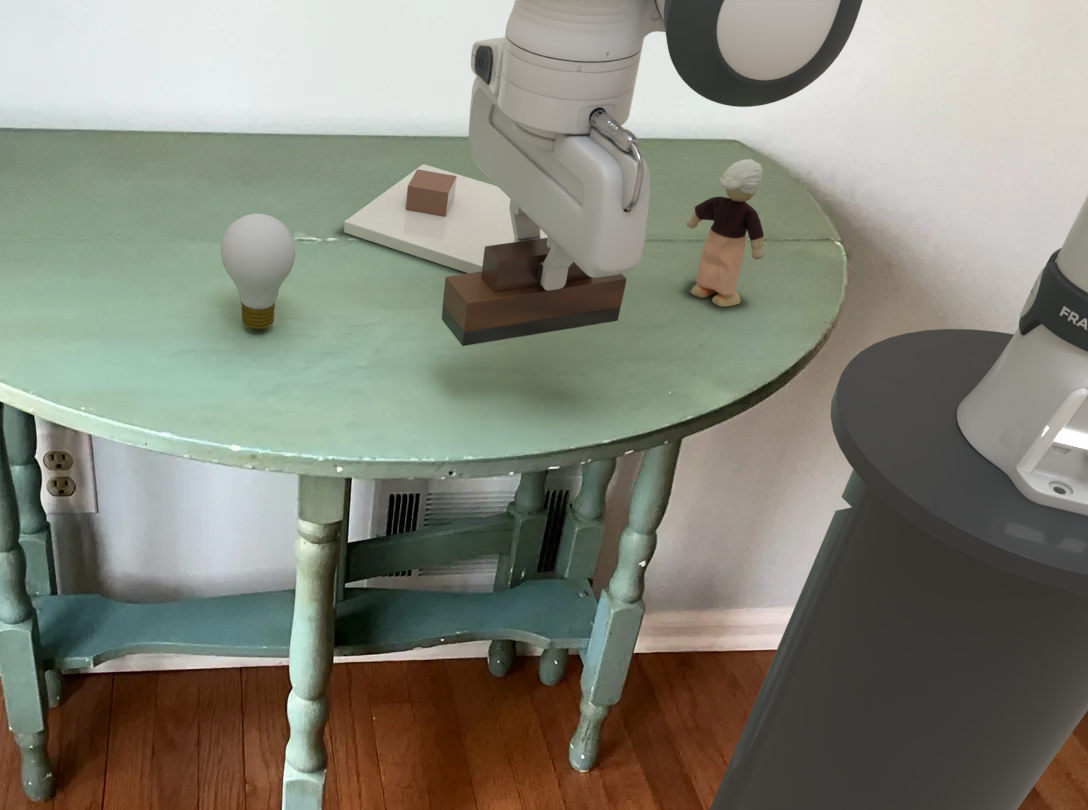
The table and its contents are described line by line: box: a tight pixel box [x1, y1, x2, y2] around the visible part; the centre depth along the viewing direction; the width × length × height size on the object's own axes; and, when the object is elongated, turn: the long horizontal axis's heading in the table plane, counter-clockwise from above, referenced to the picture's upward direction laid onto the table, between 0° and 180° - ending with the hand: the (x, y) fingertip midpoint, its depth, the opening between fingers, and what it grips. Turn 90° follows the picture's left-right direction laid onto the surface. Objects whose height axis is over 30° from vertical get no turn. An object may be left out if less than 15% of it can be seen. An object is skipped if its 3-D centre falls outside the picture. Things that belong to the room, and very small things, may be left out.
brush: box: [441, 238, 628, 347], centre depth 88 cm, size 13×4×6 cm, turn 110°
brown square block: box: [406, 168, 457, 217], centre depth 115 cm, size 4×4×2 cm
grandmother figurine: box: [685, 158, 765, 308], centre depth 104 cm, size 8×4×13 cm, turn 57°
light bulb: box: [220, 213, 296, 332], centre depth 96 cm, size 6×6×10 cm
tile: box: [343, 163, 548, 274], centre depth 115 cm, size 20×16×1 cm
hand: (537, 272), depth 87 cm, fingers closed on brush, 2 cm apart
